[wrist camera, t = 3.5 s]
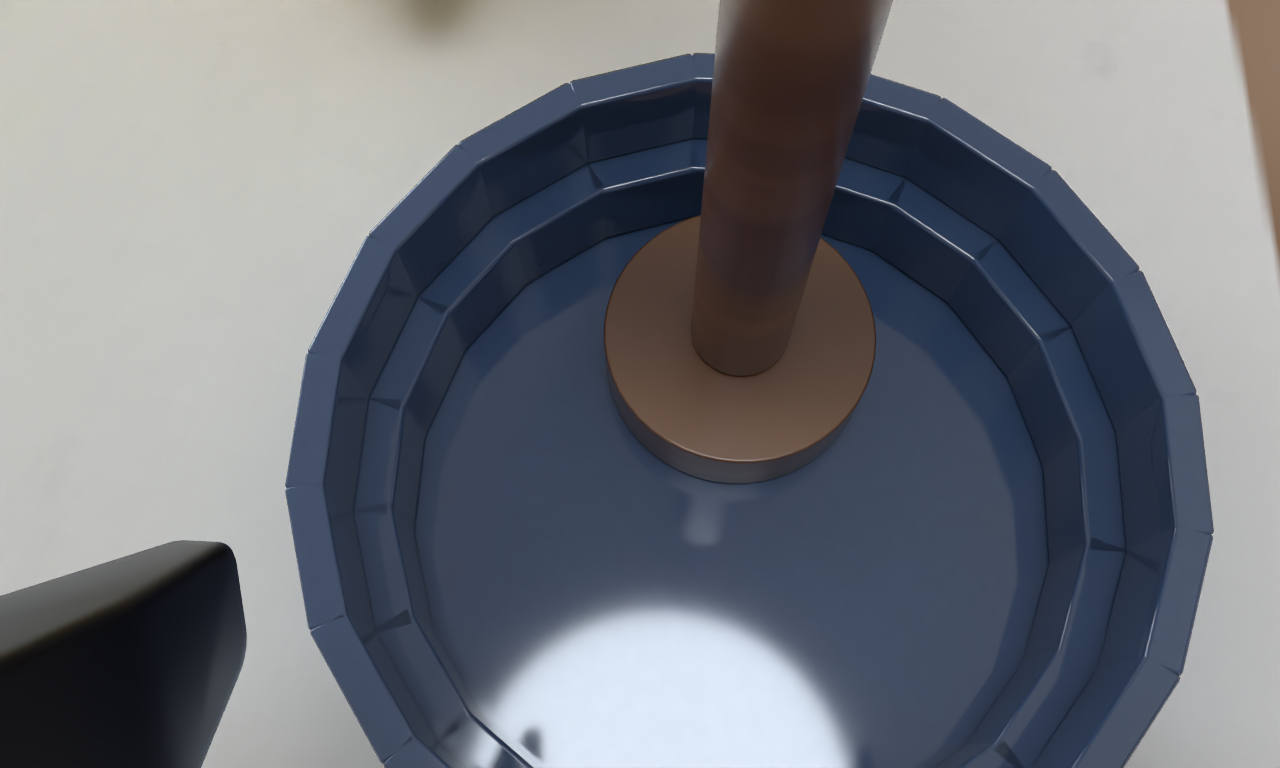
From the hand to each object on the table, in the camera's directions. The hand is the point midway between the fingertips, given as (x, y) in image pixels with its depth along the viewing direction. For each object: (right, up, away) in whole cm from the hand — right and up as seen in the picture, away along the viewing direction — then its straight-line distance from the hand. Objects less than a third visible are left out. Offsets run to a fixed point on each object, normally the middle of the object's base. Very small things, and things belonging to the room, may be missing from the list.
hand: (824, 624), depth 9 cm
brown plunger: (0, +2, +14) cm, 14 cm away
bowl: (0, -1, +14) cm, 14 cm away
